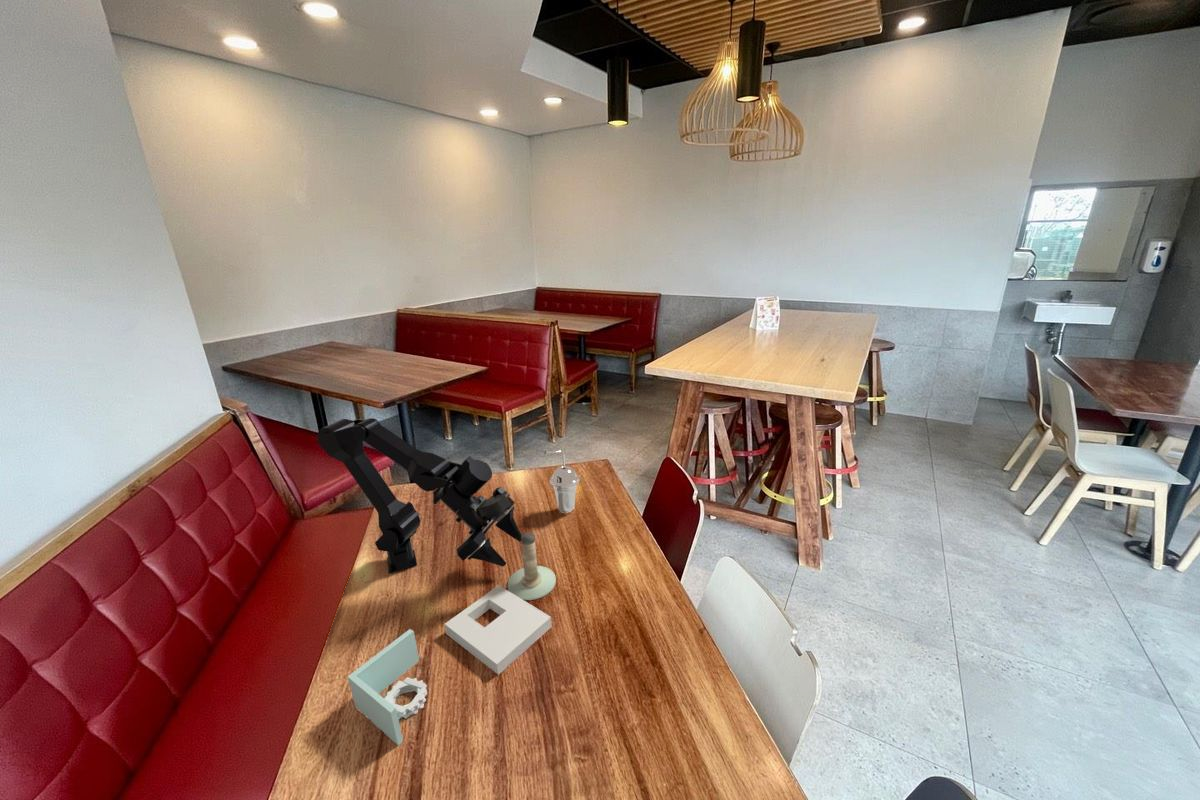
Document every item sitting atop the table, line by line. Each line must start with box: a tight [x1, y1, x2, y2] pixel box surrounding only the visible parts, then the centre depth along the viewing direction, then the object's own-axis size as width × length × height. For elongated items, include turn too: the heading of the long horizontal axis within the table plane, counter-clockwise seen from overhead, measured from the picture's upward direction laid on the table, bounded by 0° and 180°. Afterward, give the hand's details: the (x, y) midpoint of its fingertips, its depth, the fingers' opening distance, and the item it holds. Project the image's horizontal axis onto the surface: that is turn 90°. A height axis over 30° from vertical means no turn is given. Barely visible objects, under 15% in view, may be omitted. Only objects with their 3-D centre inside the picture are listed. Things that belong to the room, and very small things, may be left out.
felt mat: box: [507, 565, 557, 601], centre depth 109 cm, size 11×11×1 cm
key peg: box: [520, 532, 541, 588], centre depth 107 cm, size 4×4×12 cm
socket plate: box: [444, 584, 553, 676], centre depth 95 cm, size 16×14×2 cm
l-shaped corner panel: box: [347, 628, 428, 746], centre depth 81 cm, size 12×12×8 cm
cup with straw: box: [544, 450, 580, 513], centre depth 135 cm, size 8×9×20 cm
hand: (513, 552), depth 107 cm, fingers open, 9 cm apart
